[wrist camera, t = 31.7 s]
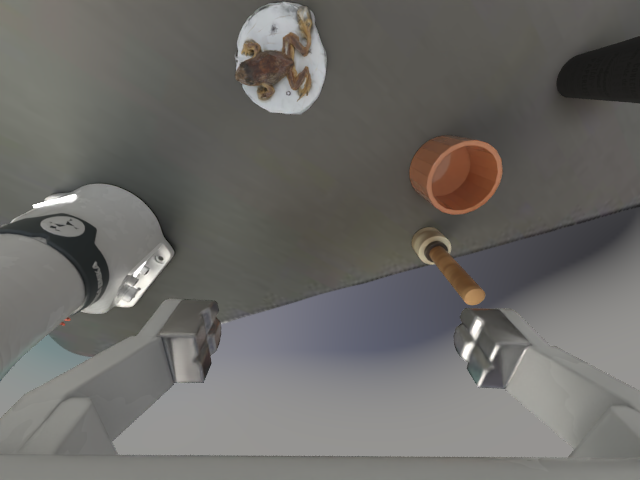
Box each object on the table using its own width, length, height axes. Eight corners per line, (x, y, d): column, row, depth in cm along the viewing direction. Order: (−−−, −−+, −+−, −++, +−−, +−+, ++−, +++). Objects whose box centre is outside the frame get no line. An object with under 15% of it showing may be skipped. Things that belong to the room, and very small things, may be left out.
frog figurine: (259, 130, 37) (253, 132, 34) (216, 27, 32) (205, 17, 29) (338, 100, 36) (341, 99, 32) (307, -13, 31) (306, -29, 27)
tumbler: (442, 209, 43) (464, 226, 36) (396, 178, 40) (412, 191, 34) (485, 157, 39) (518, 167, 33) (438, 121, 37) (464, 124, 31)
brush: (417, 258, 47) (460, 319, 33) (406, 235, 45) (447, 290, 31) (445, 245, 46) (501, 303, 32) (435, 221, 44) (490, 272, 30)
